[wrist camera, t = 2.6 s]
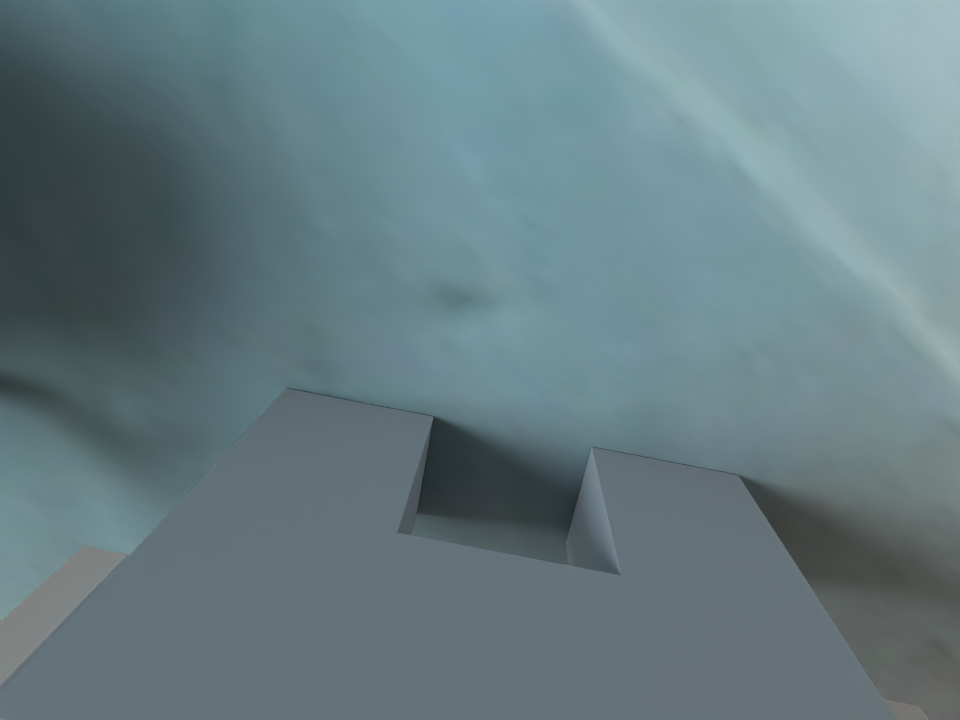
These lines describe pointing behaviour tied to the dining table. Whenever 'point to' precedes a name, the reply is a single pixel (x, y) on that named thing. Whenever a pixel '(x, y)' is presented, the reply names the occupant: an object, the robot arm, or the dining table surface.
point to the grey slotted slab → (442, 599)
